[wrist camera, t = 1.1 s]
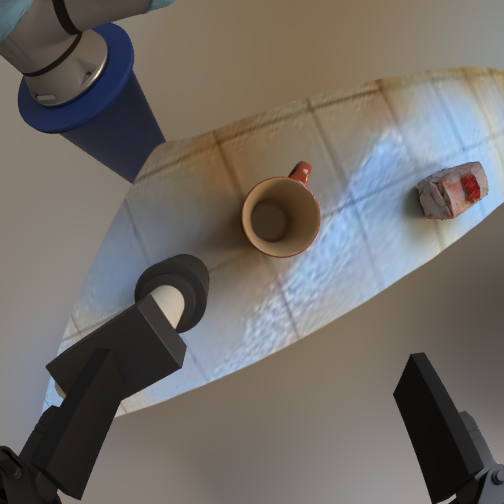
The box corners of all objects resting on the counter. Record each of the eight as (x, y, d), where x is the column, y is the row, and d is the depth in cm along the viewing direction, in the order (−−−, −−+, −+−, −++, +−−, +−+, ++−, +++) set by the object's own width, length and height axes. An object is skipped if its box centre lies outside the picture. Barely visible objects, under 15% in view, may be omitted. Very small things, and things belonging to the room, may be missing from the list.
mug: (278, 264, 42) (298, 271, 32) (223, 235, 41) (226, 233, 31) (315, 191, 43) (344, 178, 33) (263, 161, 42) (278, 138, 31)
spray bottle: (162, 322, 41) (91, 446, 12) (135, 281, 40) (16, 348, 12) (218, 287, 42) (229, 379, 13) (191, 244, 41) (143, 254, 13)
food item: (423, 227, 45) (462, 225, 36) (406, 184, 45) (444, 174, 35) (464, 198, 47) (500, 193, 37) (450, 160, 46) (485, 150, 36)
